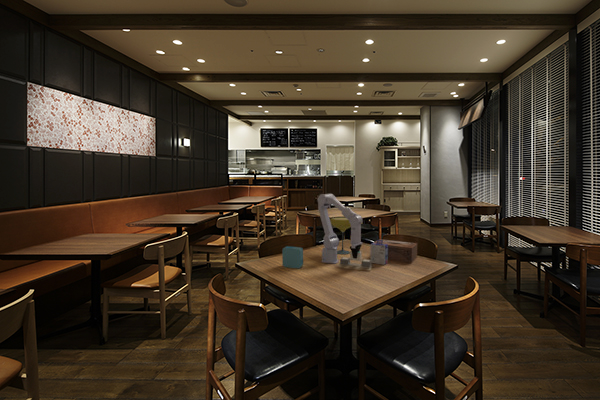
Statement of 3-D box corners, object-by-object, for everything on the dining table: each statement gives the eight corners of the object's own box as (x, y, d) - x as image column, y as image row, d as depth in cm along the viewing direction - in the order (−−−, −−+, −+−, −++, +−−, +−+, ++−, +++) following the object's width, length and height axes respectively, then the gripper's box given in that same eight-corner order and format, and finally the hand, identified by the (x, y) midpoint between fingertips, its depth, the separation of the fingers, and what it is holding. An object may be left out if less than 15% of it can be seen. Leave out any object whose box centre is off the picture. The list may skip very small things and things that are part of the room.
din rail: (339, 265, 187) (339, 264, 187) (341, 262, 192) (341, 261, 192) (370, 268, 180) (370, 267, 180) (372, 266, 185) (372, 265, 185)
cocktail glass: (328, 255, 214) (328, 219, 212) (331, 248, 232) (331, 216, 229) (354, 256, 210) (355, 220, 208) (355, 250, 228) (356, 216, 225)
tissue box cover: (416, 258, 206) (417, 243, 205) (411, 263, 194) (412, 247, 193) (379, 252, 220) (379, 239, 219) (372, 257, 208) (372, 243, 207)
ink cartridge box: (388, 263, 194) (388, 240, 193) (385, 265, 189) (385, 242, 188) (373, 260, 200) (373, 238, 198) (369, 262, 195) (370, 240, 194)
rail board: (338, 267, 186) (338, 265, 186) (342, 263, 194) (342, 261, 194) (370, 271, 178) (370, 269, 178) (372, 266, 187) (372, 265, 187)
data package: (303, 266, 188) (303, 247, 187) (300, 268, 184) (300, 249, 182) (285, 264, 192) (285, 246, 191) (282, 266, 188) (282, 247, 187)
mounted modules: (340, 264, 187) (340, 259, 187) (342, 261, 192) (342, 256, 191) (369, 267, 180) (369, 262, 180) (371, 264, 185) (371, 259, 185)
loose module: (350, 260, 185) (350, 251, 185) (351, 258, 189) (351, 250, 188) (360, 261, 183) (360, 252, 182) (361, 259, 186) (361, 251, 186)
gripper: (360, 238, 176) (359, 261, 177) (364, 233, 190) (364, 254, 191) (348, 237, 179) (347, 259, 180) (353, 232, 192) (353, 253, 193)
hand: (355, 257), depth 186 cm, fingers closed on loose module, 4 cm apart
